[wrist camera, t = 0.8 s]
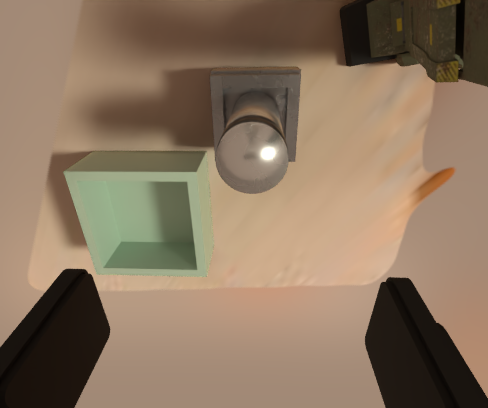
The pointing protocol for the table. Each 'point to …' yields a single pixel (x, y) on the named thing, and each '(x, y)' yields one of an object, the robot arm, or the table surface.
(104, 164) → the bin
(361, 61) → the mechanical leg
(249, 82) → the socket block
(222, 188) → the table surface
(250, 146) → the strut
